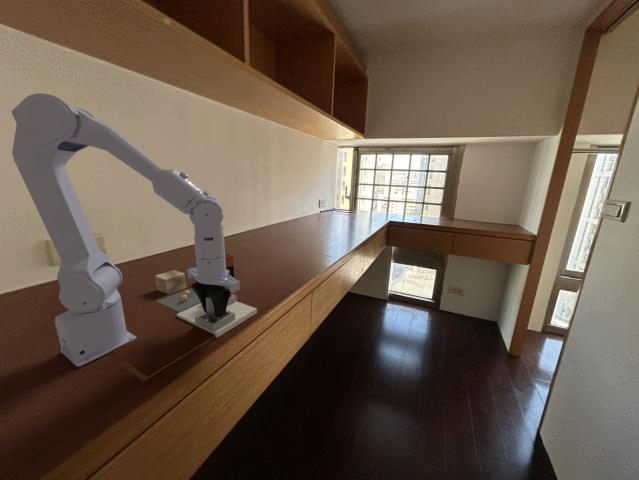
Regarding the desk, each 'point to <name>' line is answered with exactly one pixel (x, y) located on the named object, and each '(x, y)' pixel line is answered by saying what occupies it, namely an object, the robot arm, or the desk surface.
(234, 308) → the build board
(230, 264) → the battery
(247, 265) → the desk surface
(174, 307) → the tile
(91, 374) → the desk surface
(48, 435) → the desk surface
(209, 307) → the pin
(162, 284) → the box
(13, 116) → the robot arm
